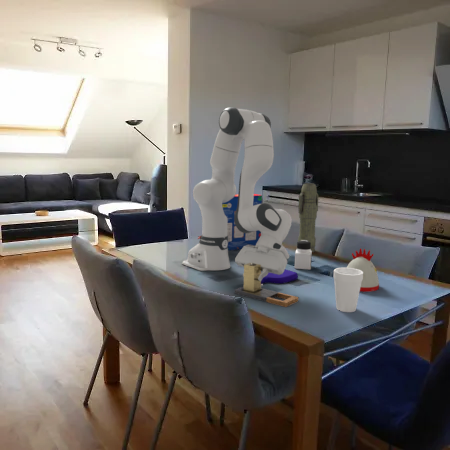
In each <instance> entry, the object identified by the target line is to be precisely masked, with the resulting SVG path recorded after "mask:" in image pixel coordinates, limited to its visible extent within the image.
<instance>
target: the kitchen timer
mask: <svg viewBox="0 0 450 450" xmlns="http://www.w3.org/2000/svg"><path fill="white" fill-rule="evenodd" d="M362 251H363V252H362ZM351 256H352V258H353V259H352V260H351V261H350V262H349V263H348V265H347V266H346V267H345V268H354V269H358V270H361V271H362V272H363V280H362V282H361V287H360V292H369V293H370V292H375V291H377V290H379V287H380V280H379V276H378V273H377V268H376V267H375V265H374V264H373V262H372V261H371V260H372V258H373V257H374V253H372V254H371V249H369V250H368V251H367V253H366V249H365V248H364V249H363V250H362V248H360V249H359V251H358V250H355V254H354V253H353V252H352V253H351Z"/></svg>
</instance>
